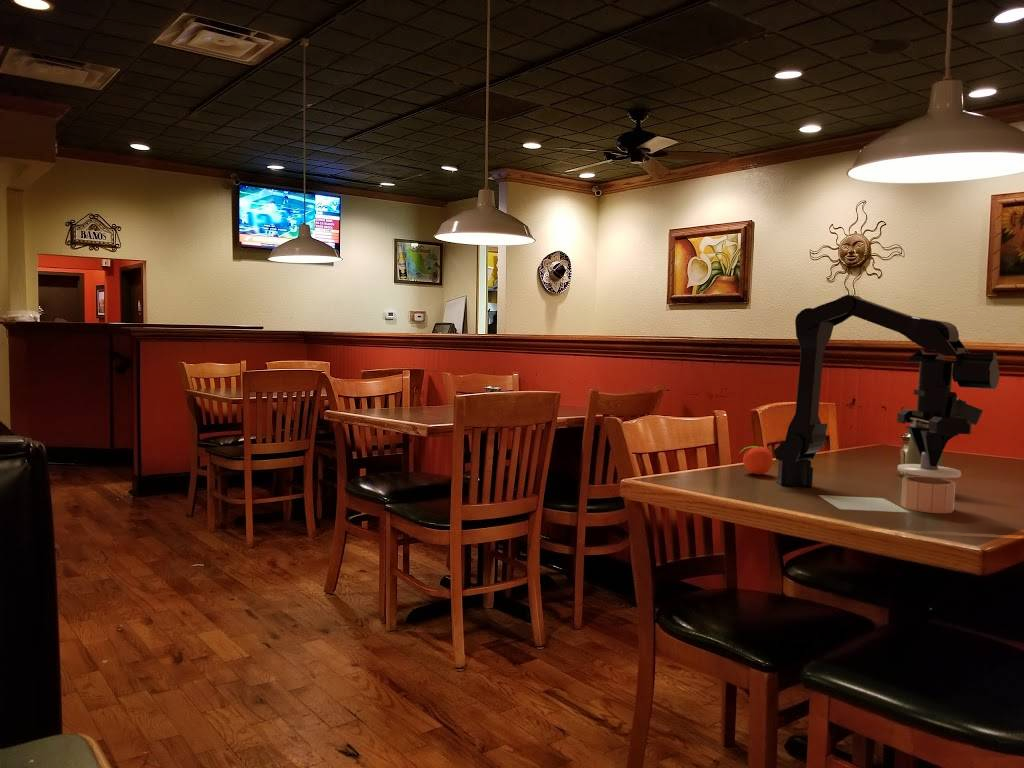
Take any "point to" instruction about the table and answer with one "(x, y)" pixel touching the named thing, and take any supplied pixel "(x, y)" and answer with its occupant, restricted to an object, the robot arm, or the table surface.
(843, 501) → the mat
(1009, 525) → the table surface
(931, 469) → the lid
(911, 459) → the squeeze bottle
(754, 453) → the clementine
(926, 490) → the bowl
